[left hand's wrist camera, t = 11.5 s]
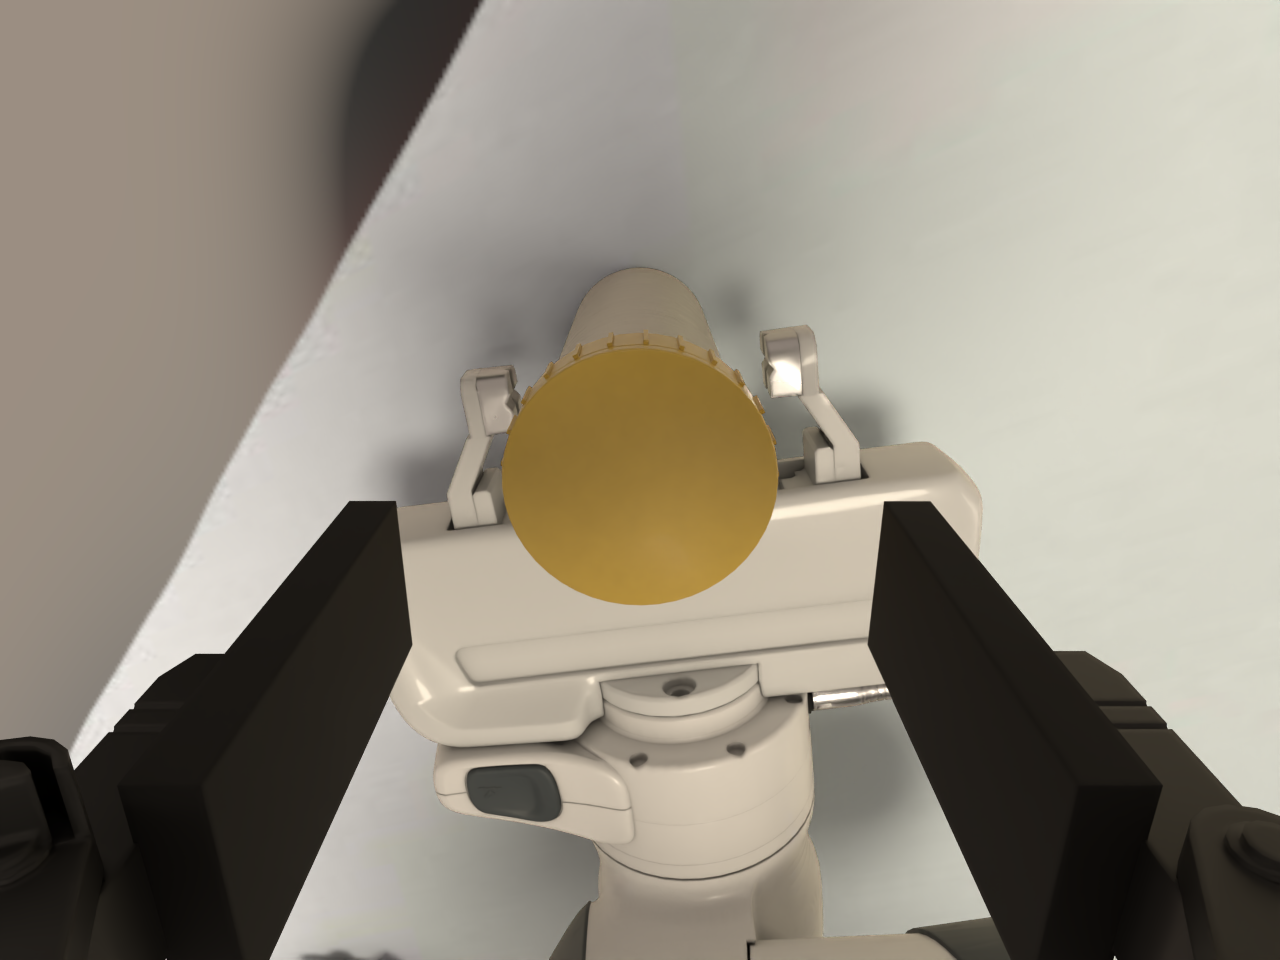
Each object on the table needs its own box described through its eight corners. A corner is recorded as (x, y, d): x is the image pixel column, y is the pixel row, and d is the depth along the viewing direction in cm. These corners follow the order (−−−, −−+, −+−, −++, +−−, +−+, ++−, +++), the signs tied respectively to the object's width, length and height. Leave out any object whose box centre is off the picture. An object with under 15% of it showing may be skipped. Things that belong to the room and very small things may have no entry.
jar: (585, 408, 33) (547, 593, 19) (562, 278, 31) (501, 381, 17) (713, 389, 33) (766, 564, 19) (697, 257, 31) (743, 347, 17)
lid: (535, 590, 21) (527, 624, 19) (483, 350, 18) (469, 367, 17) (781, 558, 20) (792, 590, 19) (757, 309, 18) (768, 324, 17)
